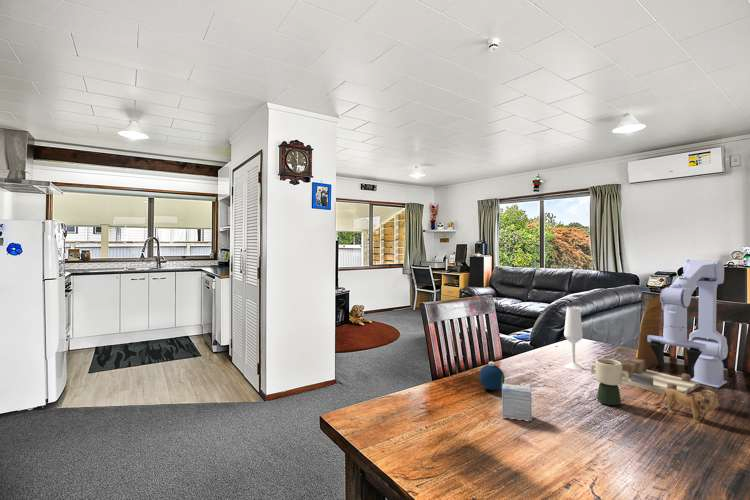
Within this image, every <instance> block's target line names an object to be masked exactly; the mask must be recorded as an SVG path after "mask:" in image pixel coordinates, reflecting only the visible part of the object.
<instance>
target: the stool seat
mask: <svg viewBox="0 0 750 500" xmlns="http://www.w3.org/2000/svg"><path fill="white" fill-rule="evenodd" d="M691 376H692V375H690V373H681V377H679V376H675V375H670V374H667V373H661V372H657V371H653V370H649V369H646V371H644V372H641V373H639V374H636V373H632V374H631V377H628V382H623V381H622V383H621V384H625V385H628V386H632V387H636V388H640V389H643V390H647V391H651V392H655V393H658V394H661V395H663V394H664V392H665V391H666V390H667V389H675V390H677V391H679V392H681V393H683V394H690V393H692V391H694V390H696V389H698V388H700V383H699V382H696V381H692V380H691V379H692V377H691ZM622 378H624V379H625V376H622Z"/></svg>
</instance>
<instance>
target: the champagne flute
mask: <svg viewBox="0 0 750 500" xmlns="http://www.w3.org/2000/svg"><path fill="white" fill-rule="evenodd" d="M581 315H582V314H581V308H580V307H576V306H575V307H574V306H567V307H566V310H565V319H564V320H565V322H564V331H563V335H564V338H565V339H566V340H567V341H568V342H569V343H571V362H569V363H566V364H565V365H564V368H566V369H568V370H575V371H581V370H583V366H581V365H579V364H578V363H576V344H577V343H578V342H580V341H581V340H582V339H583V337H584V335H583V326H582V316H581Z"/></svg>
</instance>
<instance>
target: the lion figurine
mask: <svg viewBox="0 0 750 500" xmlns="http://www.w3.org/2000/svg"><path fill="white" fill-rule="evenodd" d="M663 402H664V403H663ZM674 402H677V403H678V404H679V405H680V406H682V407H684V408H686V409H691V411H692V417H693V421H694V422H695V423H696V424H697V423H698V424H700V423H701V421H703V417H701V416H700V414H701V412H702V413H706V414H707V412H709V411H711V410H715V409H717V408H718V406H719V404H720V403H719V398H718V394H716V392H714V391H713V390H709V389H706V390H705V389H704V390H701V391H698V392H690V393H688V394H683V393H681V392H679V391H677V390H675V389H667V390H666V391H665V392H664V394H662V397H661V400H660V401H659V402H657V403H654V405H655V406H659V407H660V405H662V403H663V406H664V408H666V409H667V410H668V413H669V414H670V415H675V412H674V411H673V410H672V408H671V407H672V405H673V403H674Z"/></svg>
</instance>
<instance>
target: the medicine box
mask: <svg viewBox="0 0 750 500" xmlns="http://www.w3.org/2000/svg"><path fill="white" fill-rule="evenodd" d="M532 396H533V395H532V388H531V386H527V385H518V384H508V383H504V384H502V387H501V408H502V409H501V412H502V413H501V418H502V417H507V418H514V419H521V420H528V421H527V422H529V421H532V420H533V415H532V414H533V413H532V401H533V400H532V399H533V398H532ZM521 420H520V421H521ZM532 422H533V421H532Z"/></svg>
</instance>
